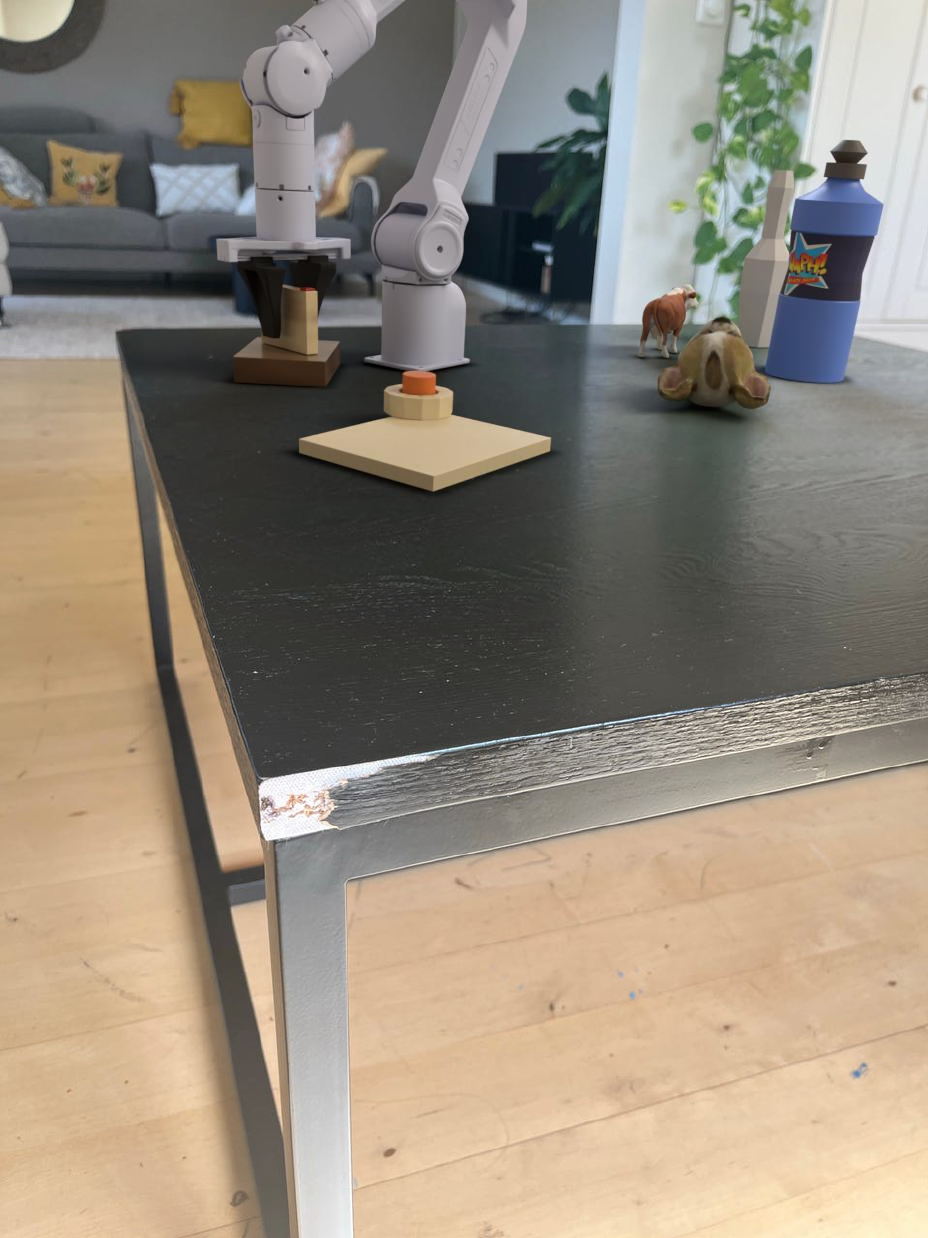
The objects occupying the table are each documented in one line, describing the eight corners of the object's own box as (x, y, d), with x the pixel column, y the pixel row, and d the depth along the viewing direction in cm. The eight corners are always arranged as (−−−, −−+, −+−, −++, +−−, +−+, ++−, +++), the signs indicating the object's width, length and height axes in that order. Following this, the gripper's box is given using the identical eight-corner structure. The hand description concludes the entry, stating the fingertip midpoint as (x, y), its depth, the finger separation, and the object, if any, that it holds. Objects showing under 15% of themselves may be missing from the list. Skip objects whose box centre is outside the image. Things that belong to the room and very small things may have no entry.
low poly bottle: (782, 349, 130) (816, 171, 120) (736, 347, 130) (766, 168, 120) (769, 341, 136) (801, 171, 126) (725, 339, 136) (753, 168, 126)
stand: (257, 360, 104) (256, 336, 103) (340, 364, 104) (340, 341, 103) (233, 382, 93) (232, 356, 92) (325, 387, 94) (325, 361, 93)
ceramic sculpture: (776, 307, 97) (784, 338, 84) (761, 391, 101) (766, 433, 89) (670, 300, 99) (662, 328, 86) (660, 383, 103) (650, 422, 91)
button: (416, 389, 82) (417, 369, 82) (441, 395, 81) (442, 374, 80) (395, 394, 80) (395, 373, 80) (420, 400, 79) (421, 378, 78)
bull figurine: (697, 349, 126) (707, 284, 123) (659, 362, 116) (668, 292, 112) (666, 345, 128) (675, 281, 125) (626, 357, 118) (634, 288, 114)
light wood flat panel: (261, 342, 100) (259, 279, 97) (272, 341, 101) (270, 279, 98) (307, 354, 95) (305, 289, 92) (318, 353, 96) (317, 288, 93)
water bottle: (809, 385, 108) (860, 137, 97) (746, 369, 115) (788, 137, 104) (861, 379, 112) (915, 143, 102) (798, 365, 119) (842, 142, 109)
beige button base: (413, 414, 85) (414, 380, 84) (559, 449, 77) (562, 412, 76) (277, 447, 73) (276, 409, 72) (432, 492, 65) (434, 449, 64)
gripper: (243, 190, 84) (250, 347, 90) (370, 193, 94) (369, 335, 100) (201, 185, 89) (210, 336, 94) (326, 189, 98) (327, 326, 104)
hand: (288, 335), depth 97 cm, fingers open, 4 cm apart
